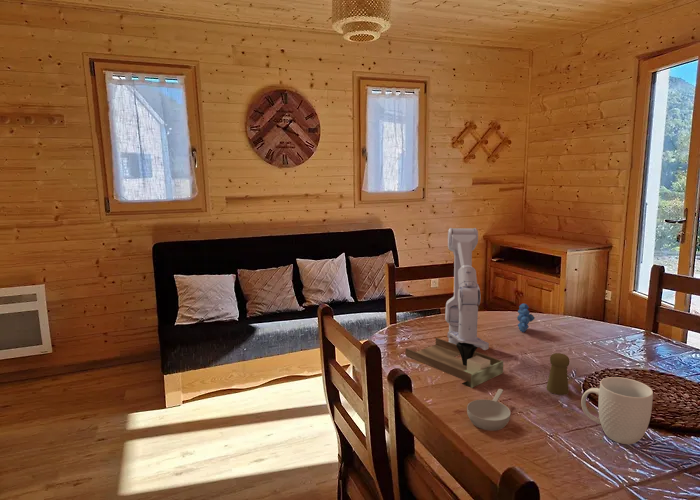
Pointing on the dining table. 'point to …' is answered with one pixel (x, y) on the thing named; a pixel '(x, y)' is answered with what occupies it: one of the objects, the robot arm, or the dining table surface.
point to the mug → (622, 408)
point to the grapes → (524, 317)
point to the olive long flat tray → (455, 362)
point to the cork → (558, 374)
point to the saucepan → (489, 413)
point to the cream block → (477, 364)
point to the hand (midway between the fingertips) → (466, 364)
